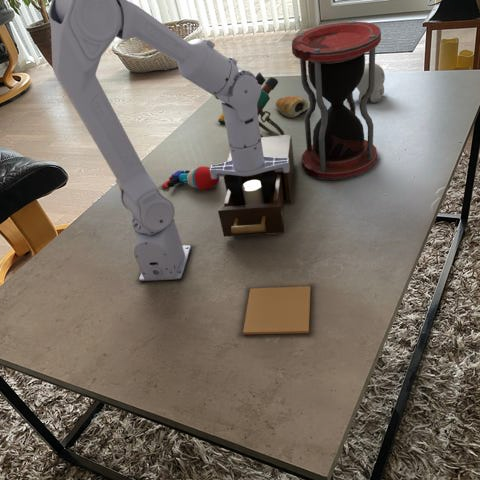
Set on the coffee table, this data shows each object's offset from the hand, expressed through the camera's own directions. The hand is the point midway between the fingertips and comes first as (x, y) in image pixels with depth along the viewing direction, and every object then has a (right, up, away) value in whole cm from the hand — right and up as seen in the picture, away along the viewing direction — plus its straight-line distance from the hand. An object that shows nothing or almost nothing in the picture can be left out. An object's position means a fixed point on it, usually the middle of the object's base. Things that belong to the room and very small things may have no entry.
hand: (255, 207), depth 95 cm
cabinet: (+2, +7, +10) cm, 12 cm away
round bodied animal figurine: (+29, +36, +32) cm, 56 cm away
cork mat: (+3, -21, -18) cm, 27 cm away
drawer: (0, -3, 0) cm, 3 cm away
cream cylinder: (0, 0, 0) cm, 0 cm away
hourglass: (+19, +13, +12) cm, 25 cm away
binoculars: (+1, +21, +24) cm, 32 cm away
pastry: (+11, +33, +34) cm, 49 cm away
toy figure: (-13, +8, +15) cm, 22 cm away
